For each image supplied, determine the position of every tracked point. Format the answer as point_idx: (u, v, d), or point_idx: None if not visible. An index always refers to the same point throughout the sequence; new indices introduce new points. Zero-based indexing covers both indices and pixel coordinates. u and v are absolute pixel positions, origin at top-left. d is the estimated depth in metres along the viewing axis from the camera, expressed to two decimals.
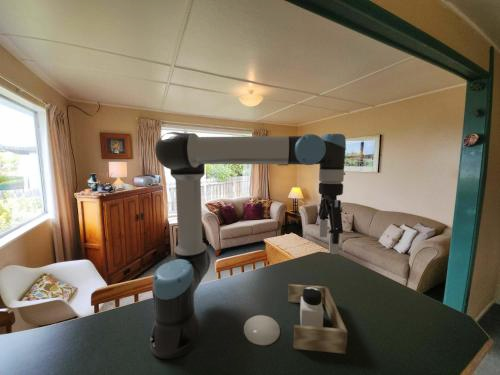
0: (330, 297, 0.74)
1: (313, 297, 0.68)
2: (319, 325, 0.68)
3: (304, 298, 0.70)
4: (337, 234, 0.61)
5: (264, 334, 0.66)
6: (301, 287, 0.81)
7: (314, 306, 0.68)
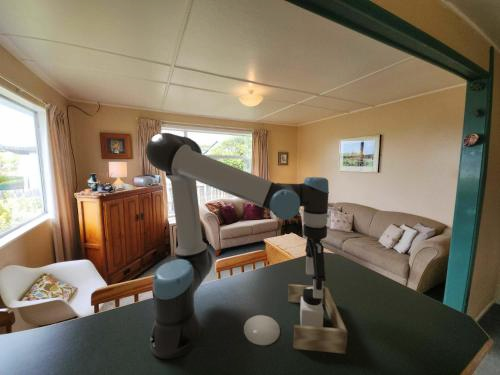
0: (330, 297, 0.74)
1: None
2: (319, 325, 0.68)
3: (304, 298, 0.70)
4: (320, 281, 0.61)
5: (264, 334, 0.66)
6: (301, 287, 0.81)
7: (314, 306, 0.68)
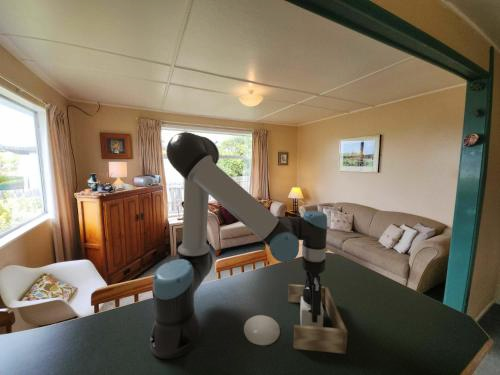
0: (330, 297, 0.74)
1: None
2: (319, 325, 0.68)
3: (304, 298, 0.70)
4: (316, 314, 0.65)
5: (264, 334, 0.66)
6: (301, 287, 0.81)
7: None
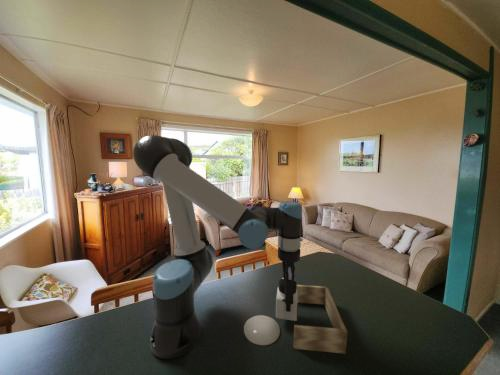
0: (330, 297, 0.74)
1: None
2: (293, 314, 0.68)
3: (279, 288, 0.70)
4: (289, 303, 0.66)
5: (264, 334, 0.66)
6: (301, 287, 0.81)
7: None
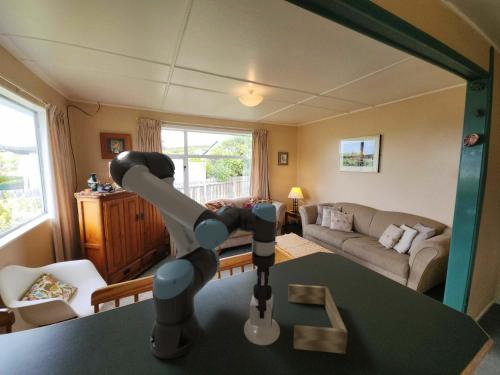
0: (330, 297, 0.74)
1: None
2: (267, 321, 0.65)
3: (254, 293, 0.67)
4: None
5: (264, 334, 0.66)
6: (301, 287, 0.81)
7: None
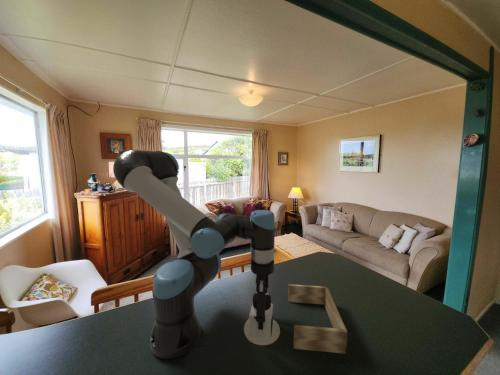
0: (330, 297, 0.74)
1: None
2: (267, 331, 0.64)
3: (253, 303, 0.67)
4: None
5: None
6: (301, 287, 0.81)
7: None
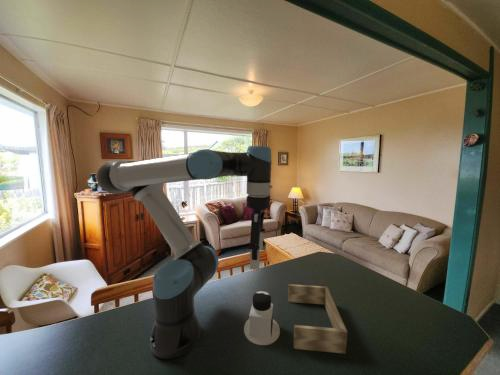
0: (330, 297, 0.74)
1: (261, 302, 0.64)
2: (267, 331, 0.64)
3: (253, 303, 0.67)
4: (255, 250, 0.59)
5: None
6: (301, 287, 0.81)
7: (262, 312, 0.65)
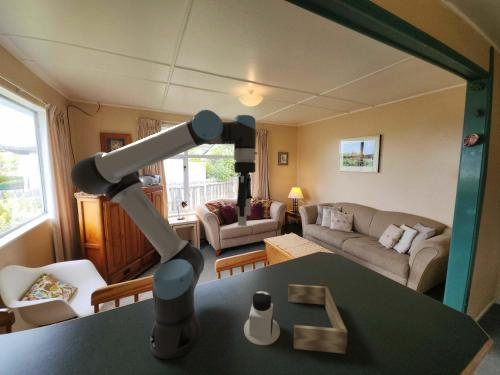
0: (330, 297, 0.74)
1: (261, 302, 0.64)
2: (267, 331, 0.64)
3: (253, 303, 0.67)
4: (242, 207, 0.66)
5: None
6: (301, 287, 0.81)
7: (262, 312, 0.65)
